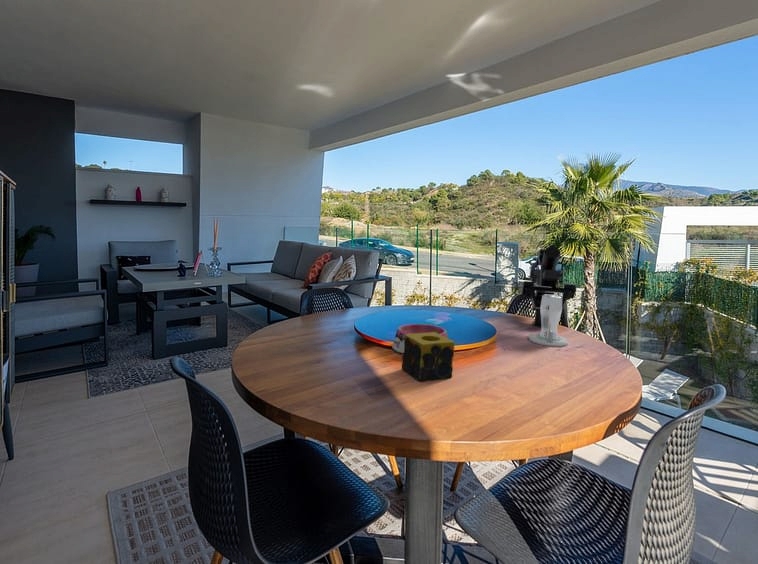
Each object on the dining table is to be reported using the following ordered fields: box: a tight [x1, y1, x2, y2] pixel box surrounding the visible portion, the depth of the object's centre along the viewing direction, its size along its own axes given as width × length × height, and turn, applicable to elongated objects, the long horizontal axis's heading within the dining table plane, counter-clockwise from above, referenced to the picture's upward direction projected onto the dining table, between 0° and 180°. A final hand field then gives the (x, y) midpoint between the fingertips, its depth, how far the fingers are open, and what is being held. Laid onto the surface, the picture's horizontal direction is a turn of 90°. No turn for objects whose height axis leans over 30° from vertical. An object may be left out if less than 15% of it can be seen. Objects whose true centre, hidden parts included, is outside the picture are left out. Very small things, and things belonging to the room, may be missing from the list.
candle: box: [401, 332, 456, 383], centre depth 110 cm, size 10×10×10 cm
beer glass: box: [539, 294, 563, 340], centre depth 147 cm, size 7×7×15 cm
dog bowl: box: [391, 323, 449, 356], centre depth 132 cm, size 18×19×7 cm
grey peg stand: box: [528, 331, 569, 348], centre depth 148 cm, size 13×13×5 cm
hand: (548, 307), depth 155 cm, fingers open, 9 cm apart
